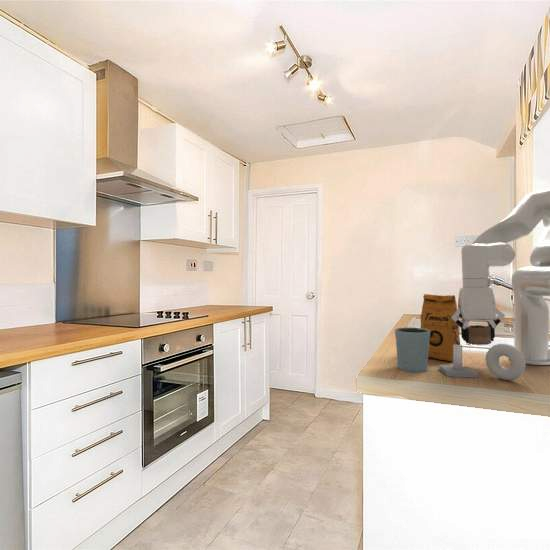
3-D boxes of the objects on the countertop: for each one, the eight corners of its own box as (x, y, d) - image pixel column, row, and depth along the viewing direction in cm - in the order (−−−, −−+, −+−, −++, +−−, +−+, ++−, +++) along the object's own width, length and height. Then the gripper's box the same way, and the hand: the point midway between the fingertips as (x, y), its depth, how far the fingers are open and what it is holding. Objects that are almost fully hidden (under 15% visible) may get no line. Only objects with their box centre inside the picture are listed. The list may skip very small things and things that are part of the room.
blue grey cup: (432, 367, 119) (432, 329, 119) (426, 375, 110) (427, 333, 110) (398, 363, 124) (399, 326, 124) (390, 370, 116) (391, 330, 116)
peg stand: (466, 370, 116) (467, 343, 116) (477, 377, 108) (477, 348, 108) (439, 369, 117) (439, 342, 117) (447, 376, 109) (447, 347, 109)
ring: (484, 340, 124) (484, 324, 124) (494, 344, 117) (493, 328, 117) (463, 340, 125) (462, 325, 124) (471, 345, 118) (470, 328, 118)
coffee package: (452, 364, 124) (452, 295, 124) (416, 357, 133) (416, 294, 133) (465, 359, 131) (465, 294, 131) (429, 353, 140) (430, 293, 140)
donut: (483, 376, 109) (483, 341, 109) (488, 375, 111) (489, 340, 111) (522, 385, 101) (522, 347, 101) (527, 383, 103) (528, 345, 103)
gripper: (499, 282, 123) (501, 337, 123) (443, 284, 125) (445, 338, 126) (511, 283, 116) (513, 342, 116) (450, 285, 118) (453, 343, 118)
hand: (478, 340), depth 121 cm, fingers closed on ring, 6 cm apart
